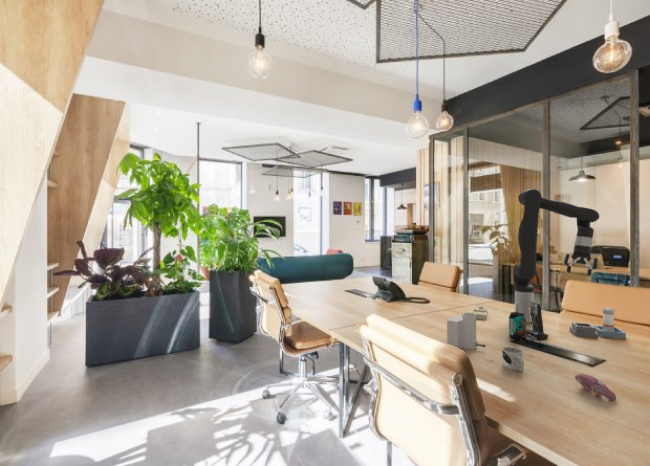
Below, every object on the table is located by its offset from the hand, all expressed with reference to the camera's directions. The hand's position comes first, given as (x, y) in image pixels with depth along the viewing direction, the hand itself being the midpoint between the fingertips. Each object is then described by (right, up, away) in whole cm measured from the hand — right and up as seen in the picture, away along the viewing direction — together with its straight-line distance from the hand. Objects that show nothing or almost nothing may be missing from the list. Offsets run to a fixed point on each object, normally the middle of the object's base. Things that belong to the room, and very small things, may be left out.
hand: (578, 274), depth 175 cm
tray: (+1, -28, -17) cm, 33 cm away
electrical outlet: (-44, -28, +20) cm, 56 cm away
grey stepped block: (-75, -29, -31) cm, 86 cm away
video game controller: (-53, -29, -72) cm, 94 cm away
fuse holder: (-10, -28, -16) cm, 33 cm away
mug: (-67, -29, -54) cm, 91 cm away
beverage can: (-46, -28, -21) cm, 58 cm away
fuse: (+1, -27, -17) cm, 32 cm away
